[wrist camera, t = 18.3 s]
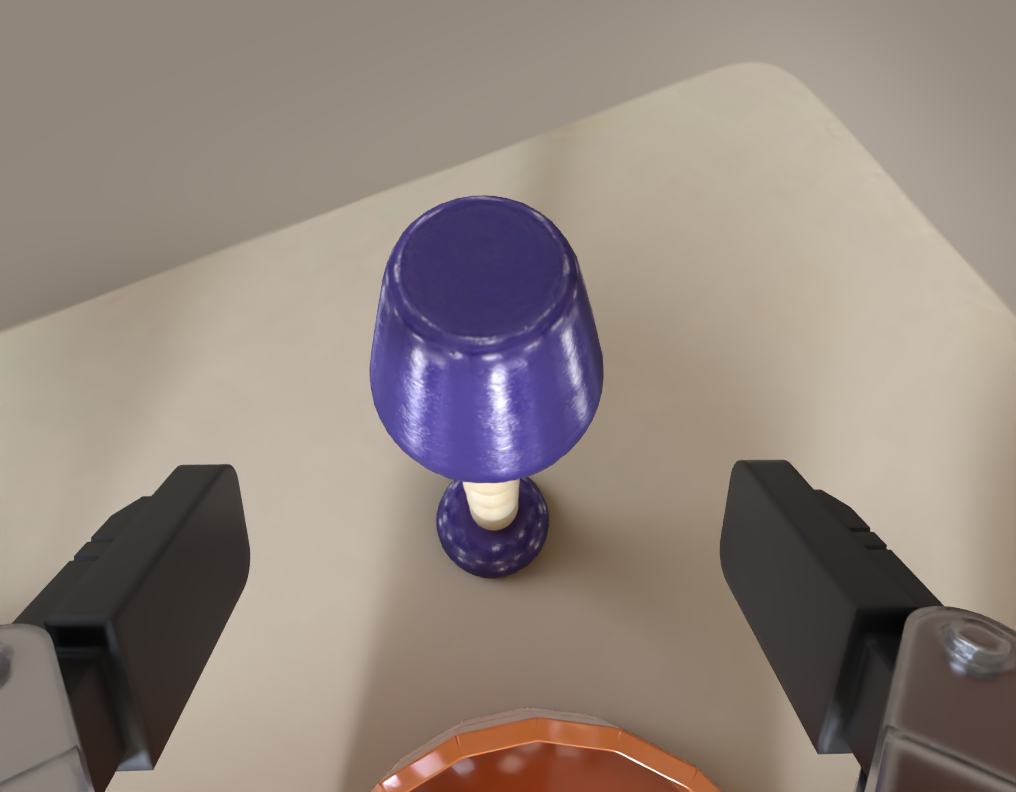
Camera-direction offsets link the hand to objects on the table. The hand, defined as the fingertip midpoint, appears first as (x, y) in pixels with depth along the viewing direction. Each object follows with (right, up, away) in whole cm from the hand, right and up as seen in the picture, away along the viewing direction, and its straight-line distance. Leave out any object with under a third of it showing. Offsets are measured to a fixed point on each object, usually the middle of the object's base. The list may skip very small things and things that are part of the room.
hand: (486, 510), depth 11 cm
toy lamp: (0, -3, +15) cm, 15 cm away
